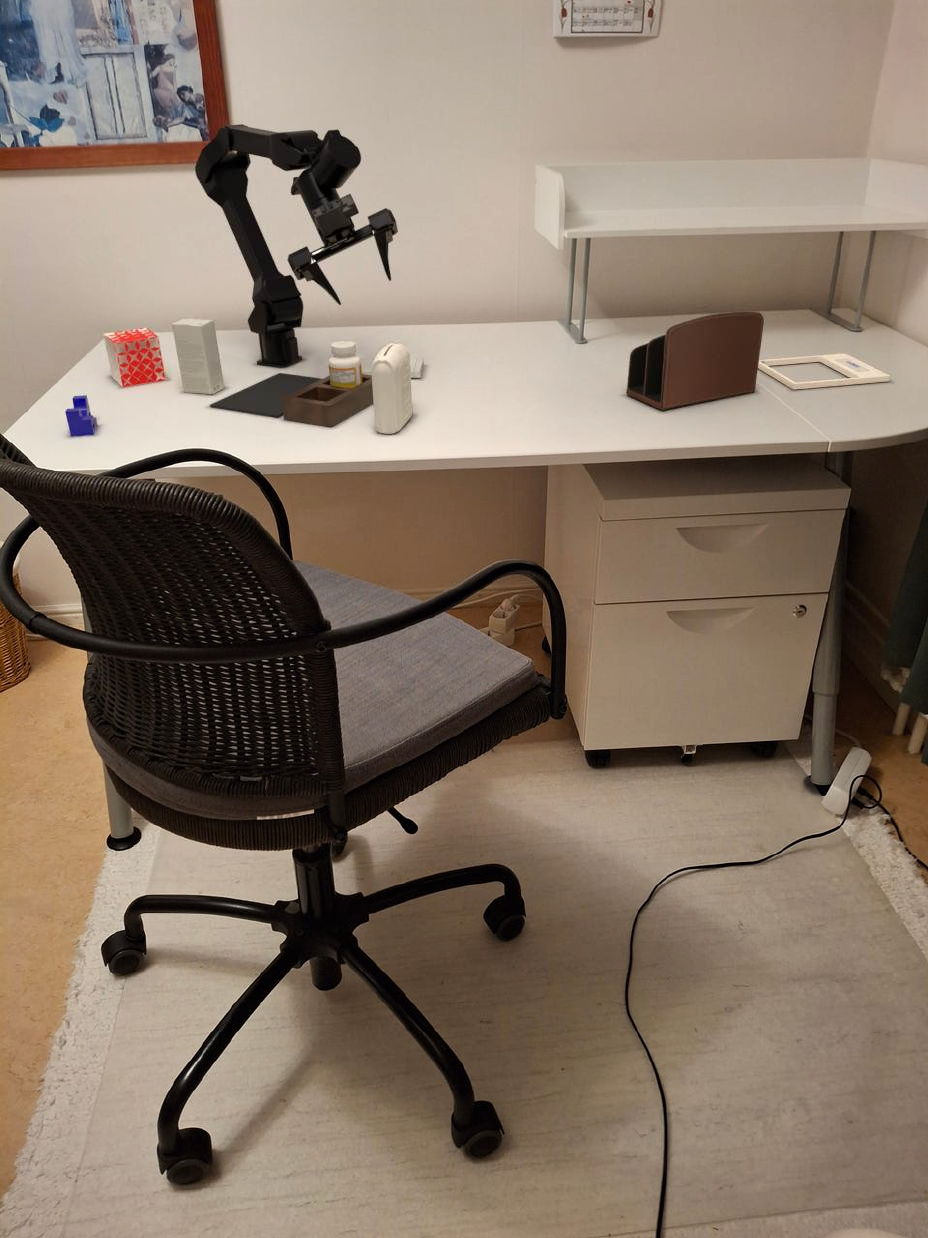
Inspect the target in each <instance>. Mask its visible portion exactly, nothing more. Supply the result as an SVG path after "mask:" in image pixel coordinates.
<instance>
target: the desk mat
mask: <svg viewBox="0 0 928 1238" xmlns="http://www.w3.org/2000/svg"><path fill="white" fill-rule="evenodd" d="M321 379H322V378H320V377H312V376H306V375H298V374H291V373H283V372H279V373H276V374H274V375H272V376H269V377H268V378H265V379H263V380H261V381H259V382H256V383H255V384H252V385H250V386H248V387H246V388H243V389H241V390H239V391H237V392H235V393H233V394H229V396H225V397H224V398H221V399H219V400H218V401H215V402H213V403H211V404H209V407H210V408H212V409H213V408H214V409H220V410H227V411H232V412H238V413H243V414H244V413H246V414H252V415H256V416H257V415H258V416H263V417H264V416H265V417H270V418H275V419H276V418H277V419H279V418H281V417H284V415H283V407H282V398H284V397H286V396H288V395H290V394H293V393H295V392H297V391H299V390H301V389H303V388H305V387H307V386H309V385H311V384H313V383H315V382H317V381H319V380H321Z"/></svg>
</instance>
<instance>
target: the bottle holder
mask: <svg viewBox="0 0 928 1238" xmlns="http://www.w3.org/2000/svg"><path fill="white" fill-rule="evenodd" d="M362 382H363V383H362V384H360V385H358V386H356V387H354V388H346V387H339V386H332V385H331V384H330V374H329V375H327V376H325V377H323V378H321V380H319V381H317V382H315V383H313V384H311V385H309V386H307V387H305V388H303V389H301V390H299V391H297V392H295V393H293V394H290V395H288V396H286V397H284V398H282V407H283V420H284V421H289V422H296V423H301V424H307V425H313V426H321V427H327V428H333V427H334V426H337V425H338V424H340V423H342V422H344V421H345V420H347V419H349V418H351V417H352V416H353V415H356V414H358V413H360V412H361V411H362V410H363V411H364V409H366V408H368V407H370V406H371V405H374V402H373V387H372V375H366V374H362Z"/></svg>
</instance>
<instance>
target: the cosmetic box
mask: <svg viewBox="0 0 928 1238" xmlns="http://www.w3.org/2000/svg"><path fill="white" fill-rule="evenodd" d="M171 328H172V332H173V337H174V343H175V349H176V354H177V361H178V367H179V373H180V378H181V384H182V390H183V392H184V393H189V394H191V393H192V394H200V395H201V394H202V395H214V394H216V393H218V392H219V391H222V390H224V389H225V383H224V376H223V370H222V363H221V358H220V352H219V343H218V337H217V332H216V331H217V330H216V325H215V321H214V319H199V318H187V317H186V318H183V319H180V320H178V321H176V322H173V323H171Z"/></svg>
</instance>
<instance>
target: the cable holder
mask: <svg viewBox="0 0 928 1238" xmlns="http://www.w3.org/2000/svg"><path fill="white" fill-rule="evenodd" d="M71 400H72V406H73V407H72V408H66V409H65V412H64V413H65V417H66V421H67V425H68V429H69V434H70V437H81V436H82V437H83V436H95V434H96V432H97V429H98V427H99V424H98V421H97V417H94V415H92V413H91V407H90V404H89V399H88V396H87V394H85V395H74V396H73V397H72V398H71Z"/></svg>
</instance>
